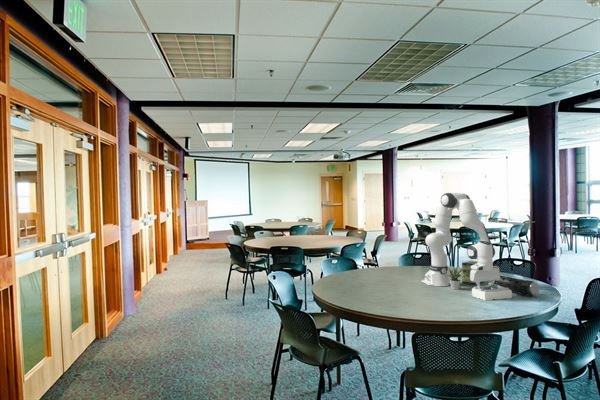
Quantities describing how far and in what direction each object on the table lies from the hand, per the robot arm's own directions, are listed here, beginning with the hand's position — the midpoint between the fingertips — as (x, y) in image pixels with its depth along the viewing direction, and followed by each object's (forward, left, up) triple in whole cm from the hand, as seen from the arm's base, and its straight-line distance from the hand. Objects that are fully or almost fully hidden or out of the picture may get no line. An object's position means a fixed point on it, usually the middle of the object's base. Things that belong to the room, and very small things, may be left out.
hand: (485, 287), depth 249 cm
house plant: (-25, -3, -6) cm, 26 cm away
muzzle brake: (-4, +27, -7) cm, 27 cm away
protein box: (-40, +23, -7) cm, 46 cm away
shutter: (0, +9, -1) cm, 9 cm away
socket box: (0, +5, -6) cm, 8 cm away
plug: (0, 0, -5) cm, 5 cm away
